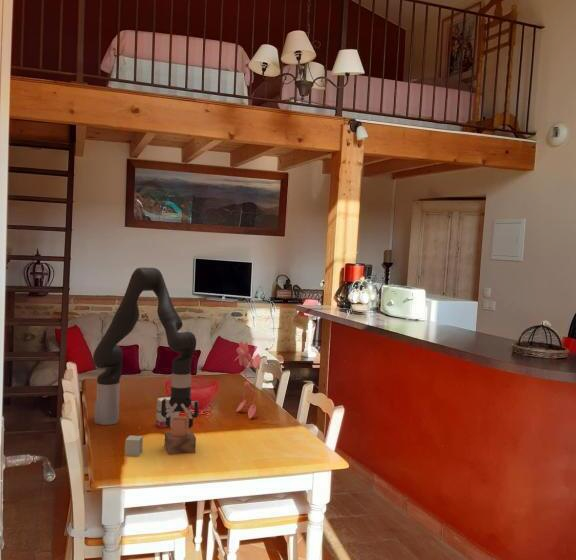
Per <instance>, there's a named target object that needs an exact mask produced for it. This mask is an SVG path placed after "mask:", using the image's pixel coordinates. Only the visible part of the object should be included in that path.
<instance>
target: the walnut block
mask: <svg viewBox="0 0 576 560" xmlns="http://www.w3.org/2000/svg"><path fill="white" fill-rule="evenodd" d="M196 442H197V437H196V436H195V434H194V433H193V431H192V429H187V433H186V435H185V436H171V430H167V431H164V445H163V446H164V448H165V450H166V453H167V455H169V456H171V455H181V454H182V455H183V454H195V453H196V446H197V443H196Z"/></svg>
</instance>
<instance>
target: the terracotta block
mask: <svg viewBox="0 0 576 560" xmlns="http://www.w3.org/2000/svg"><path fill="white" fill-rule="evenodd" d="M188 427H189V416H180V415H179V416H175V417H174V418H173V419H172V427H171V430H170V431H171V436H185V435H186V433H187V430H188Z"/></svg>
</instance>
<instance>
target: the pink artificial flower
mask: <svg viewBox="0 0 576 560" xmlns="http://www.w3.org/2000/svg"><path fill="white" fill-rule="evenodd" d="M238 345H239V346H238V347H237V348H236V353H237V354H238V355H237V357H236V358H235V359H234V360H233V362H235V361H237V360H238V361H239V362H238V363H239V366H241V367H242V366H243V367H244V368H245V369H244V370H243V371H244V378H245V382H244V386H243V396H246V395H245V394H246V393H245V390H246V389H245V388H249V389H251V390H252V391H253V392H254V393H255V394H254V399H253V403H252V405H250V407H248V405H247V400H246V399H243V401H241V403H240V404H239V405H238V407H237V408H236V411H235V412H236V413H238V412H239V411H240V410H242V409H244V406H245V409H246V410H247V415H248V418H249V420H251V419H252V418H253V417H254V416H255V415H256V417H257V419H258V418H259V415H258V412H257V406H256V404H255V403H256V402H255V401H256V397H257V391H256V390H254V389H253V388H252V387H251V382H250V381H248V379H247V374H246V373H247V370H249V369H251V368H252V367H253V368H255V369H258V370H260V369H261V368H260V363H261V359H262V357H261V355H260V354H259V353H257V354H256V355H255V356H254V358H253V359H252V356H251V355H252V354H250V352H249V351H250V350H249V343H248V341H245V342H244V341H243V340H240V341H239V343H238ZM227 419H228V420H229V418H227V417H226V420H227ZM231 421H233V422H237V423H239V421H237V420H233V419H231Z"/></svg>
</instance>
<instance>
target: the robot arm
mask: <svg viewBox="0 0 576 560" xmlns="http://www.w3.org/2000/svg"><path fill="white" fill-rule="evenodd" d="M149 291H152V292H153V293H154V294H155V295H156V298H157V317H158V319H159V321H160V323H161V324H162V326H163V328H164V332H165V336H166V340H167V345H168V347H169V349H171V351H173V352H175V353H178V352H179V355H178V356H175V357H174V358H173V359H172V361H171V362H172V363H171V364H172V365H171V377H170V396H169V397H170V400H166V399H163V400H162V407H161V415H162V416H165V417H166V425H167V427H166V428H171V427H170V424H171V416H170V415H171V413H172V412H173V411H175V412H178V411H179V413H180V412H181V413H184V412H185V413H186V414H185V415H187V417H188V429H191V428H192V427H194V419H196V418H197V417H198V416H199V414H200V413H199V412H200V411H199V410H200V409H199V408H200V407H199V405H200V404H199V403H200V401H199V400H197V399H196V400H192V399H191V397H192V393H191V392H192V391H191V390H192V360H193V358H194V355H195V352H196V347H197V338H196V335H195V334H194V333H193V332H190V331H184V332H179V331H180V330H181V329H182V327H183V320H182V319H181V317H180V315H179V314H178V312H177V310H176V308H175V307H174V304H173V302H172V300H171V295H170V294H169V291H168V287H167V285H166V282H165V278H164V277H163V274H162V273H161V271H160V269H158V268H156V267H137V268H136V269H135V270H134V271H133V272H132V274H131V276H130V279H129V282H128V285H127V286H126V291H125V293H124V295H123V298H122V300H121V302H120V304H119V306H118V308H117V310H116V312H115V313H114V316H113V318H112V320H111V321H110V325H109V326H108V328H107V330H106V332H105V334H104V335H103V337H102V339H101V340H100V341H99V342H98V345H97V346H96V348H95V350H94V352H93V354H92V355H93V357H92V358H93V359H92V361H93V365H94V366H95V367H97V368H99V369H101V368H103V369H105V368H106V369H105V370H104V371H103V372H102V373H101V374H99V375H97V377H96V400H95V401H94V419H93V420H94V424H98V425H101V426H106V425H107V426H111V425H115V424H118V423H119V418H120V416H119V413H120V412H119V411H120V381H121V380H120V379H121V376H122V372H123V371H122V369H123V358H124V356H123V351H122V348H121V347H120V345H119V342H121V341H122V340H123V339H126V337H127V336H128V335H129V334H131V332H133V330H134V328H135V327H136V324H137V322H138V321H139V318H140V310H139V306H138V302H139V301H138V300H139V298H140V296H141V294H142V292H149ZM168 403H169V404H170V405H171V407H172V408H171V409H170V411H169V412H168V413H167V412H166V405H167V404H168ZM191 405H192V407H193V410H194V411H192V409H191V408H190V407H191ZM193 412H194V413H193Z"/></svg>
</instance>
